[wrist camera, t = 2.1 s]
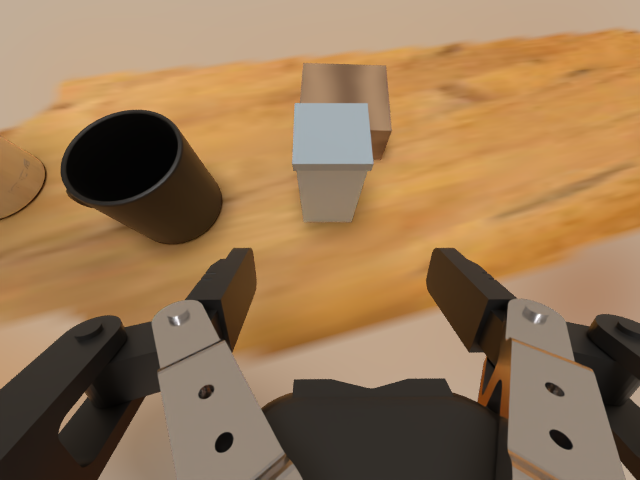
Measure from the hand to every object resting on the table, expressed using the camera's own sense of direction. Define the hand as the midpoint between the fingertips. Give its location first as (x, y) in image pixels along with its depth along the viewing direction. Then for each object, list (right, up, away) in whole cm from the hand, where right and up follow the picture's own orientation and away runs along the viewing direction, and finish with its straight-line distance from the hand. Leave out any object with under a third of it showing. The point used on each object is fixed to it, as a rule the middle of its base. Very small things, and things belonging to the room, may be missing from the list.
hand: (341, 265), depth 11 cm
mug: (-18, +5, +17) cm, 25 cm away
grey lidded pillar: (0, +6, +17) cm, 18 cm away
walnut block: (+2, +16, +21) cm, 27 cm away
